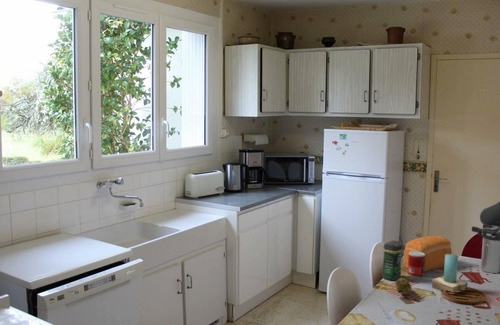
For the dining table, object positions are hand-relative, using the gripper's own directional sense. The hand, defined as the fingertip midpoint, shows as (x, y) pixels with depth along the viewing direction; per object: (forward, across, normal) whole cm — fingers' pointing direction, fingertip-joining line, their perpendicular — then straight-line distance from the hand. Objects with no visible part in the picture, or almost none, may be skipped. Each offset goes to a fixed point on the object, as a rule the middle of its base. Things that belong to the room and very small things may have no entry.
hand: (477, 227), depth 225 cm
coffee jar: (+31, +20, +31) cm, 48 cm away
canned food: (+28, +5, +31) cm, 43 cm away
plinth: (+6, +8, +30) cm, 32 cm away
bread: (+35, -12, +32) cm, 48 cm away
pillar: (+6, +8, +26) cm, 28 cm away
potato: (+13, +32, +30) cm, 46 cm away
